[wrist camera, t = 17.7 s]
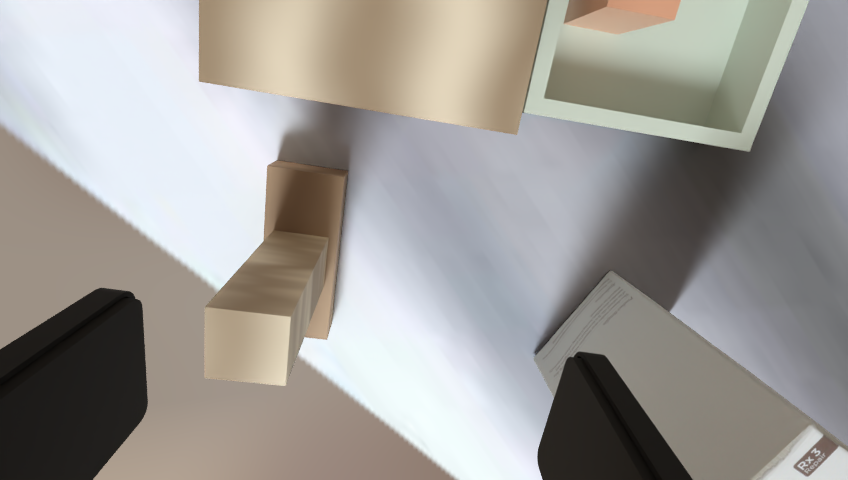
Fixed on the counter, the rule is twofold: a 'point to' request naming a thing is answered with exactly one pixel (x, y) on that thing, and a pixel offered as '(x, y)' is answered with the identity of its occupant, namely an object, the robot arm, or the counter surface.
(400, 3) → the birch block
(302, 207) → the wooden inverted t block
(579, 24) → the salmon pink brick
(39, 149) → the counter surface
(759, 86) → the box
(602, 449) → the robot arm
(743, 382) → the skincare box
